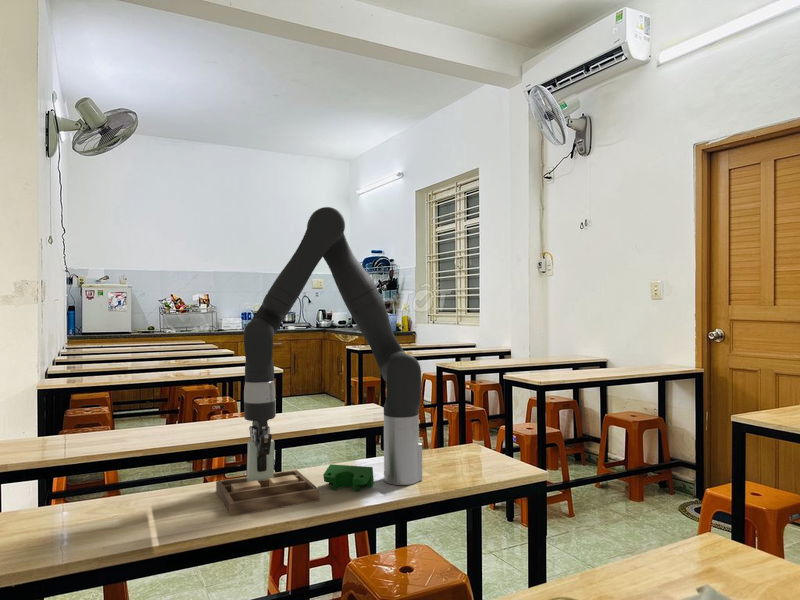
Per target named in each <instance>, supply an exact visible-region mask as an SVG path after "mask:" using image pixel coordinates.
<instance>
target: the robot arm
mask: <svg viewBox="0 0 800 600" xmlns="http://www.w3.org/2000/svg"><path fill="white" fill-rule="evenodd" d="M345 229H346V222H345V219H344V215H342V213H341V212H340V211H339V210H338V209H336V208H334V207H331V206H324V207H321V208H318V209H316V210H315V211H313V213H312V214H311V215H310V217H309V218H308V221H307V224H306V231H305V233H304V235H303V237H302V240H301V241H300V243H299V245H298V247H297V248H296V250H295V252H294V253H293V255H292V256H291V258H290V259H289V261H288V262H287V263H286V265H285V266H284V268H283V269H282V270H281V271H280V272H279V274H278V275H277V277H276V278H275V280H274V282H273V283H272V285H271V287H270V288H269V289H268V291H267V293H266V294H265V297H264V298H263V301H262V303H261V305H260V307H259V308H258V309H257V311H256V313H255V314H254V316H253V317H251V319H250V321H249V322H248V323H246V325H245V327H244V330H243V348H244V357H245V361H244V362H245V363H244V389H243V402H244V403H243V408H244V409H243V411H244V412H243V413H244V414H243V416H244V417H243V419H245V420H246V421H247V422H252V423H251V425H249V427H248V428H249V435H250V441H254V445H255V447H257V453H256V455H257V471H258V472H263V471H266V470H267V455H268V454H269V453H270V445H271V439H272V438H273V435H272V433H271V428H270V426H269V420H273V419H274V418H275V417H276V414H277V413H276V387H275V386H276V385H275V364H274V359H273V354H274V353H273V350H274V337H275V335H276V333H277V331H278V329H279V328H280V325H281V324H282V322H283V321H284V319H285V318H286V316H287V315H288V314H289V313H290V311H291V309H292V308H293V307H294V305H295V303H296V302H297V300H298V299H299V297H300V295H301V294H302V291H303V290H304V288H305V287H306V284H307V283H308V281H309V280H310V277H311V276H312V274H313V273H314V270H315V269H316V267H317V266H318V264H319V263H320V261H321V260H322V258H323V259H324V261H325V263H326V264H327V267H328V268H329V270H330V272H331V275H332V278H333V280H334V283H335V285H336V287H337V289H338V292H339V294H340V296H341V298H342V300H343V302H344V305H345V306H346V308H347V311H348V312H349V314H350V316H351V317H352V319H353V321H354V323H355V324H356V326H357V328H358V329H359V331H360V333H361V334H362V336H363V337H364V338H365V340H366V342H367V344H368V346H369V348H370V350H371V351H372V354H373V357H374V359H375V363H376V364H377V367H378V370H379V372H380V375H381V376H382V377H381V378H383V380H384V382H386V397H385V398H386V399H385V402H384V404H383V475H384V477H383V481H384V482H385V483H387V484H389V485H392V486H393V485H396V486H409V485H414V484H417V483H418V482H420V481H423V444H422V443H421V442H420V425H419V424H420V422H419V421H420V420H419V417H420V412H419V411H420V405H421V401H422V370H421V369H422V367H421V364H420V363H419V360H417V358H416V357H414V356H412V355H411V354H408V353H406V352H405V350H404V349H403V348H402V346H401V345H400V343H399V341H398V340H397V339H398V338H396V335H395V334H394V332H393V329H392V326H391V322H390V319H389V314H388V311H387V308H386V304H385V302H384V300H383V298H382V295H381V293H380V291H379V289H378V287H377V286H376V284H375V282H374V281H373V279H372V277H371V276H370V274H369V273H368V272H367V271H366V269H365V268H364V266H363V265H362V264H361V263H360V262H359V260H358V259H357V258H356V256H355V255H354V253H353V251H352V249H351V247H350V245H349V243H348V241H347V238H346V235H345ZM257 442H259V443H257ZM263 448H265V450H262V449H263Z"/></svg>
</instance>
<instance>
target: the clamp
mask: <svg viewBox="0 0 800 600" xmlns="http://www.w3.org/2000/svg"><path fill="white" fill-rule="evenodd" d="M373 469H374V468H373V466H365V465H363V466H361V465H348V464H332V463H331V464H329V466H328V467H327V468H326V470H325V472H324V473H323V481H324V482H325V483H328V485H330V486H333V491H335V492H336V491H337V490H338V489H341V488H351V489H352V490H353V493H357V491H358V490H359V489H360V488H366V487H367V488H370V489H371V488H373V486H374V483H375V481H374V479H375V478H374V470H373Z"/></svg>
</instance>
